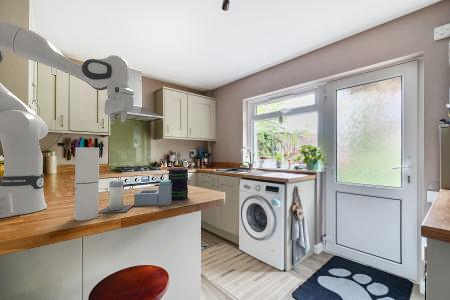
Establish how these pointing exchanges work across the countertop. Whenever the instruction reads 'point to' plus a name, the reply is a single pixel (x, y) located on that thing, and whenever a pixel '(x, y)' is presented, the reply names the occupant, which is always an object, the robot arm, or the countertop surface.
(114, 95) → the robot arm
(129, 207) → the rubber mat
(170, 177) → the storage jar
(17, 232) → the countertop surface
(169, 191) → the filter housing
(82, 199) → the cylindrical container
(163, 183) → the plunger
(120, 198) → the filter cartridge
